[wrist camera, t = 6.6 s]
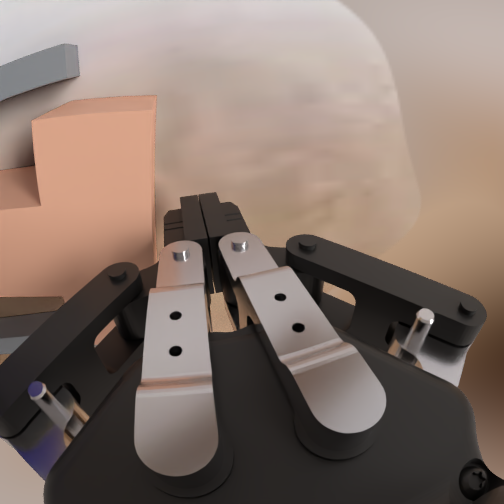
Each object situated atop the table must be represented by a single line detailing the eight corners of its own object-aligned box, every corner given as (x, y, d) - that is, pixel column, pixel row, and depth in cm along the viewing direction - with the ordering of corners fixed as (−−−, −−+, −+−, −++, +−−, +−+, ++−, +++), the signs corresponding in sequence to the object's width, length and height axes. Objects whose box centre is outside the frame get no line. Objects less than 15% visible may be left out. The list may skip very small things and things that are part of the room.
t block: (6, 281, 15) (-20, 341, 11) (-29, 119, 10) (-86, 149, 6) (158, 276, 18) (161, 342, 14) (156, 95, 13) (151, 110, 9)
